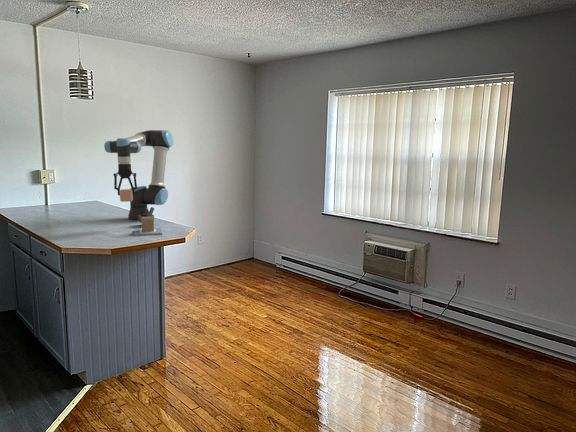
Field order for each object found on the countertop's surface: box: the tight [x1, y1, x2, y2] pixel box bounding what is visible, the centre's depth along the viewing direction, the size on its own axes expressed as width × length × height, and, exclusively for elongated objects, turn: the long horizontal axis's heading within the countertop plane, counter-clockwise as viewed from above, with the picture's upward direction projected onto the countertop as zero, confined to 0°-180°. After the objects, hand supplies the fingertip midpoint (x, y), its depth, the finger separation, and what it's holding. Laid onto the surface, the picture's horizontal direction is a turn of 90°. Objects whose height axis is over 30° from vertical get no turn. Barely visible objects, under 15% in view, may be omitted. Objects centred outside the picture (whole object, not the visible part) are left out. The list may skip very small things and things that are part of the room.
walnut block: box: [140, 217, 155, 232], centre depth 272 cm, size 7×7×8 cm
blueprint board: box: [133, 227, 163, 237], centre depth 272 cm, size 16×16×1 cm
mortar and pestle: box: [138, 206, 155, 224], centre depth 294 cm, size 11×9×12 cm
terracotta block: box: [120, 188, 132, 203], centre depth 278 cm, size 6×6×7 cm
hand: (126, 200), depth 279 cm, fingers closed on terracotta block, 6 cm apart
